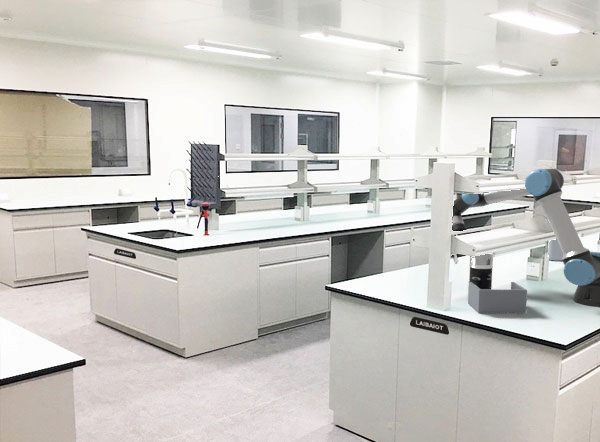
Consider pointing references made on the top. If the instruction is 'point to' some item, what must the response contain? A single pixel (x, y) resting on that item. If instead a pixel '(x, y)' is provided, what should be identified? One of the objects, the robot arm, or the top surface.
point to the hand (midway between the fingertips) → (470, 262)
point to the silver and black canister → (481, 271)
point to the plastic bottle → (555, 251)
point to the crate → (497, 299)
